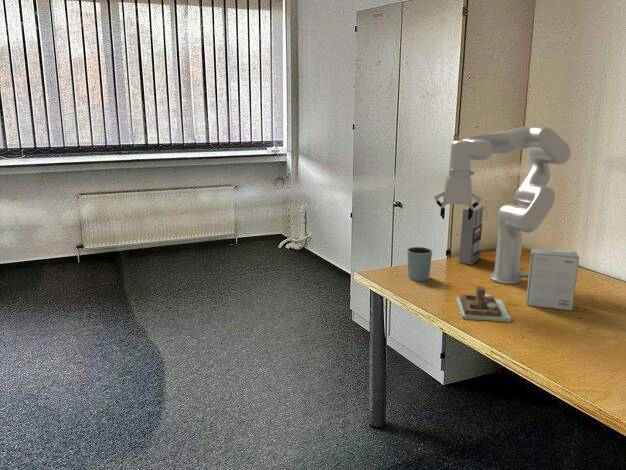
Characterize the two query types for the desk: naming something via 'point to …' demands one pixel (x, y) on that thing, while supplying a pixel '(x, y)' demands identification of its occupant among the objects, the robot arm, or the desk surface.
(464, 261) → the tall grey labeled box
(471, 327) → the desk surface
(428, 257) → the blue-grey cup
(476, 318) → the board
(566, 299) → the hard drive box
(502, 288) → the desk surface
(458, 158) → the robot arm
